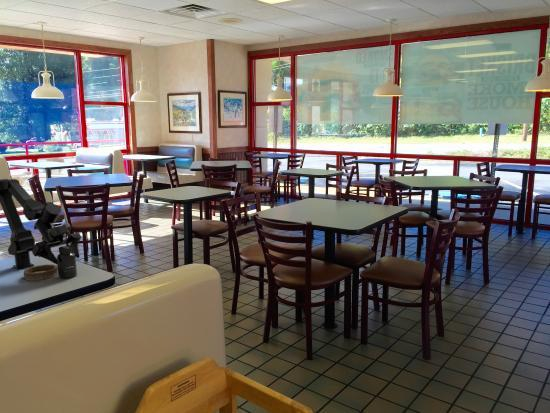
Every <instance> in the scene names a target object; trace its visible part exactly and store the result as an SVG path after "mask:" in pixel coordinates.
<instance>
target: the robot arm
mask: <svg viewBox="0 0 550 413" xmlns="http://www.w3.org/2000/svg"><path fill="white" fill-rule="evenodd" d="M13 198H14V199H15V200H16V202H18V204H19V205H20V206H21V207H22V208H23V209H22V214H23V215H24V217H25V219H27V220H28V221H29V222H31V221H36V222H34V226H33V229H34V230H35V231H36V230H38V231H39V234H41V236H42V237H41V240H42V241H37V242H36V241H35V237H34V236H33V233H32V230H30V229H26V228H25V227H24V224H23V222H22V219H21V217H20V214H19V211H18V209H17V206H16V203H15V202H14V199H13ZM0 205H1V209H2V210H3V211H2V212H3V214H4V216H5V219H6V221H7V223H8V226H9V228H10V231H11V234H10V238H9V241H10V245H9V246H8V248H7V252H8V255H10V256H14V263H15V264H14V265H12V268H14V269H17V270H21V269H25V268H26V269H27V268H30V267H34V266H35V264H34V263H31V256H30V255H31V254H32V255H33V256H34V257H39V258H43V259H45V260H48V261H49V262H51V263H53V264H54V265H57V264H58V263H59V262H58V260H57V256H56V255H55V254H54V253H53V251H52V248H57V247H62V246H72V252H73V253H74V254H75V256H76V259H79V258H80V252H79V247H78V245H79V242H80V241H81V239H82V235H81V233H78V232H76V233H72V234H71V233H70V234H69V235H68V236H67V238H65V237H66V234H67V233H69V232H70V231H71V230H72V226H71V225H70V223H69V222H64V223H63V224H61V225H57V226H55V224H54V223H55V222H56V221H57V220H58V218H59V216H60V214H61V212H62V209H61V207H60V206H59V205H58V204H55V203H52V202H51V201H47V202H45V204H43V203H41V201H38V200H36V199H34V198H33V197H32V196H31V195H30V194H29V193H28V191H26V189H25V188H24V187H23V186H22V185H21V183H20V181H19V179H18V178H17V179H16V178H11V179H8V178H2V179H0ZM30 252H32V253H31V254H30Z"/></svg>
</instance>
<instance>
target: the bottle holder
mask: <svg viewBox="0 0 550 413" xmlns="http://www.w3.org/2000/svg"><path fill="white" fill-rule="evenodd" d="M22 273H23V277H24V279H25V281H33V282H34V281H44V280H48V279H52V278H54V277H56V276H57V275H58V266H57V264H41V265H40V264H39V265H34V266H30V267H27V268H26V269H25V268H24V270H23V272H22Z"/></svg>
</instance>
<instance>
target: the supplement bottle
mask: <svg viewBox="0 0 550 413" xmlns="http://www.w3.org/2000/svg"><path fill="white" fill-rule="evenodd" d="M58 253H59V254H57V256H56V259H57V260H58V262H59V263H58V264H56V266H58V274H57V275H58V278H59V279H63V280H65V279H66V280H68V279H73V278H75V277H76V276H78V269H77V257H76V256H75V254H74V253H73V252H72V246H67V245H61V246H58Z"/></svg>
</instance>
